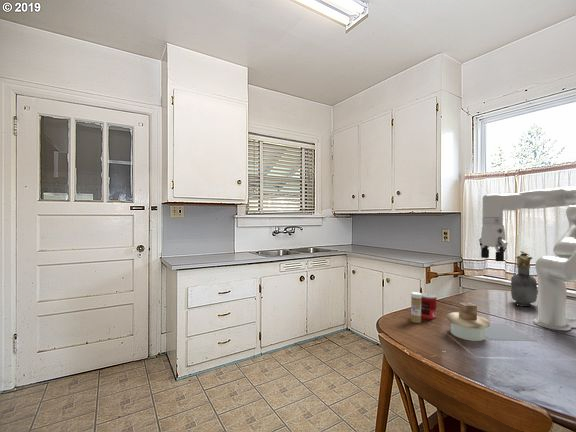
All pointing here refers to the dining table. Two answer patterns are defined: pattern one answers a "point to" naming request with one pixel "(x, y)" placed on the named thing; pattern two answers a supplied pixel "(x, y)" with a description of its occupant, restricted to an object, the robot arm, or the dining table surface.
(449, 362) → the dining table surface
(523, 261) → the grey vase
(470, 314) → the lid
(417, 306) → the sprinkles bottle
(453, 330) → the bowl
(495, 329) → the mat
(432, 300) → the canned food
